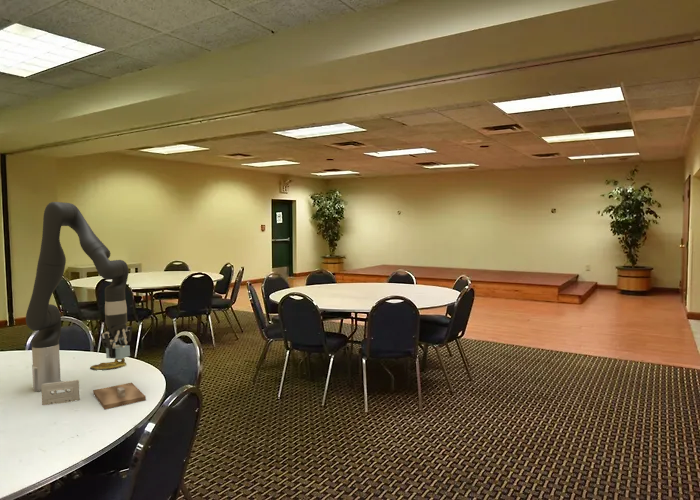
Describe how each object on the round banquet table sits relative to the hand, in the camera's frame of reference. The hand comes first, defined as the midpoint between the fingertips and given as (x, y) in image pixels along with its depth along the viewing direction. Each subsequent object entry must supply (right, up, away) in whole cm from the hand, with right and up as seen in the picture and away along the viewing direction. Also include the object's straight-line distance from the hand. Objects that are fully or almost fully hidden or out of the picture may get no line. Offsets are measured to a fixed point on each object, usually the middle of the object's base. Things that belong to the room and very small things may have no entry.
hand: (118, 355), depth 186 cm
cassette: (-17, -16, -8) cm, 25 cm away
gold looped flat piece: (-22, -14, +36) cm, 44 cm away
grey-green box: (0, 0, 0) cm, 0 cm away
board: (+2, -15, -3) cm, 15 cm away
